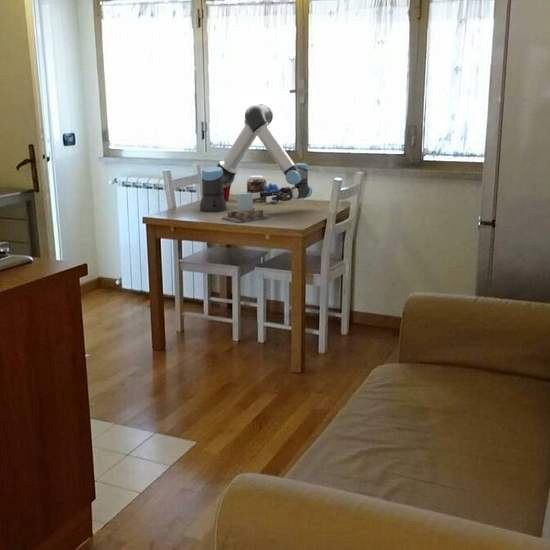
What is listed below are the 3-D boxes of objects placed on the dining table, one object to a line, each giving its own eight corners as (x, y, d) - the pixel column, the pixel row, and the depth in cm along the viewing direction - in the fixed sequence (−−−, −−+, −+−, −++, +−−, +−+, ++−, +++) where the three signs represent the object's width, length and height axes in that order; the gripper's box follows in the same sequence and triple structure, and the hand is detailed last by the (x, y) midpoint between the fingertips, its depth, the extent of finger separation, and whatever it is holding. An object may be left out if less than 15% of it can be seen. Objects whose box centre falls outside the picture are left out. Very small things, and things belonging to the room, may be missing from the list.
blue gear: (267, 205, 415) (267, 184, 412) (262, 203, 421) (261, 183, 418) (284, 203, 421) (284, 183, 418) (279, 201, 426) (278, 181, 423)
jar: (249, 199, 436) (249, 174, 432) (268, 199, 434) (268, 175, 430) (245, 202, 425) (244, 177, 421) (264, 203, 423) (263, 177, 419)
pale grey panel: (241, 217, 371) (240, 194, 368) (238, 217, 373) (237, 194, 370) (252, 215, 376) (252, 193, 373) (249, 215, 378) (249, 192, 375)
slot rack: (238, 222, 363) (238, 214, 362) (222, 219, 373) (222, 211, 372) (268, 217, 376) (268, 210, 375) (251, 214, 386) (251, 206, 385)
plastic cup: (230, 202, 426) (229, 182, 423) (212, 201, 428) (212, 181, 425) (234, 199, 436) (234, 179, 433) (217, 199, 438) (217, 179, 435)
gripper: (303, 203, 383) (273, 207, 369) (273, 197, 401) (243, 202, 388) (303, 189, 381) (273, 193, 367) (273, 184, 399) (243, 188, 386)
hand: (258, 197), depth 377 cm, fingers open, 13 cm apart
